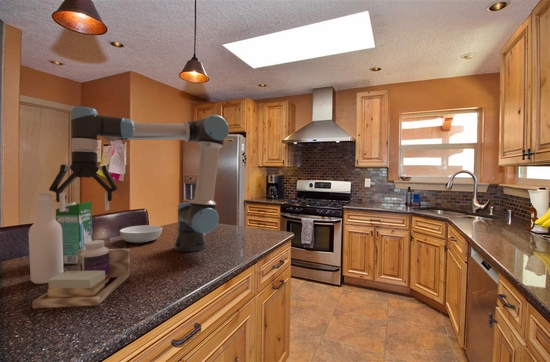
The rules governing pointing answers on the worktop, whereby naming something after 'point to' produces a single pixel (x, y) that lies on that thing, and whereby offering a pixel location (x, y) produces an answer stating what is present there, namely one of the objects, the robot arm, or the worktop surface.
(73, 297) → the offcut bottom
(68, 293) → the block
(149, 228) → the serving bowl
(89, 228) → the milk carton
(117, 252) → the rack
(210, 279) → the worktop surface
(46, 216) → the alcohol
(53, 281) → the offcut top
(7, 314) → the worktop surface
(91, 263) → the pill bottle
